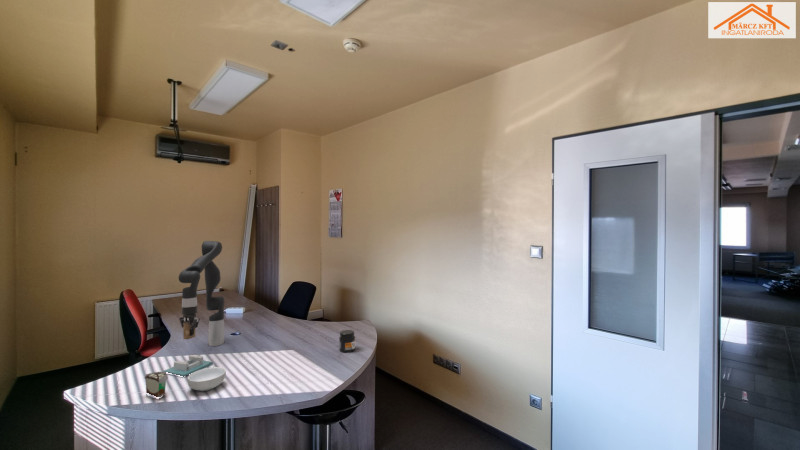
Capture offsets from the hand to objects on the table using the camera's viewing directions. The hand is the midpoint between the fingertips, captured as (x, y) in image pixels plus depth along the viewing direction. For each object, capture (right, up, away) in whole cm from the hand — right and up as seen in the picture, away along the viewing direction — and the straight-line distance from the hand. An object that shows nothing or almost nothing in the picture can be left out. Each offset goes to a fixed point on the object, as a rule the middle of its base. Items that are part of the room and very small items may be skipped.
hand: (189, 335), depth 187 cm
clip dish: (0, -20, 0) cm, 20 cm away
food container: (+4, -19, -30) cm, 36 cm away
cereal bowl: (+24, -19, -22) cm, 38 cm away
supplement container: (+87, -19, +26) cm, 93 cm away
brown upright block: (0, -2, 0) cm, 2 cm away
